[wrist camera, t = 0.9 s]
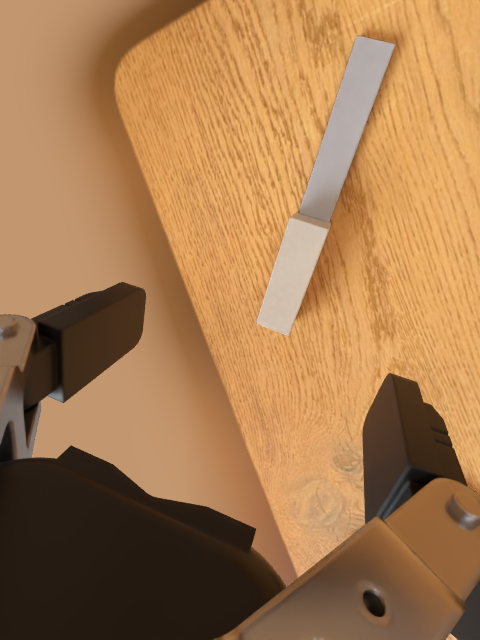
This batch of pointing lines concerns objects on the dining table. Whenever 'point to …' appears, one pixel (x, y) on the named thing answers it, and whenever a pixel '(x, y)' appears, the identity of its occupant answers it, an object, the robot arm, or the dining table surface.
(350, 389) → the dining table surface
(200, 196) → the dining table surface
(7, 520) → the robot arm
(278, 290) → the knife
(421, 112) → the dining table surface
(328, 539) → the dining table surface
